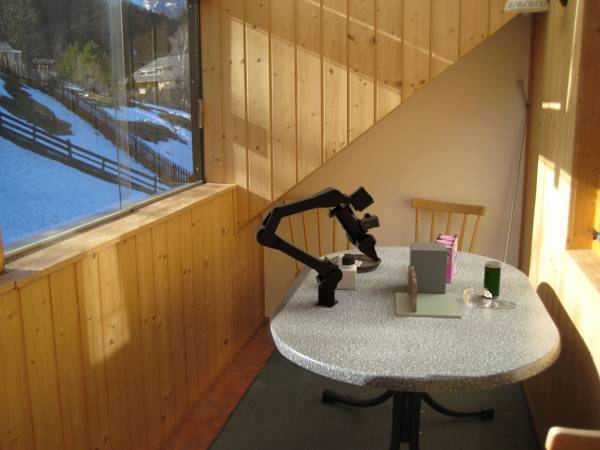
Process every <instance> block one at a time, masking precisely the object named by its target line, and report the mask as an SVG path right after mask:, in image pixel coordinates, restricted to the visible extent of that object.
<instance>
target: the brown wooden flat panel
mask: <svg viewBox="0 0 600 450" xmlns="http://www.w3.org/2000/svg"><path fill="white" fill-rule="evenodd" d="M410 295H411V303H412V311H417V279H416V273H415V269H411V291H410Z"/></svg>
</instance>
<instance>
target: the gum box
mask: <svg viewBox="0 0 600 450" xmlns="http://www.w3.org/2000/svg"><path fill="white" fill-rule="evenodd" d="M433 243H444V244H445V247H446V249H447V265H446V284H451V283H452V281H453V280H454V279H453V278H454V276H455V275H456V274H455V273H456V270H457V268H458V267H457V266H458V265H457V264H458V235H457V234H453V235H443V234H442V233H439V234H438V235H437V236H436V239H435V240H434V242H433Z"/></svg>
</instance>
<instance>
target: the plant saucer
mask: <svg viewBox="0 0 600 450" xmlns="http://www.w3.org/2000/svg"><path fill="white" fill-rule="evenodd" d="M352 254H353V255H354V256H355V260H358V261H362V264H361V265H360V267H359V266H358V267H357V273H367V272H371V271H373V270H375V269H377V268H378V267H379V266H380V264H381V263H382V258H380V257H379V256H378V259H379V261H377V262H375V261H374V260H372V259H371V258H369V257H368V256H366V255H365V254H363V253H352ZM338 256H339V255H337V256H334V257H332V258H331V259H330V260H332V261H335V262H336V263H338ZM366 271H367V272H366Z"/></svg>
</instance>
